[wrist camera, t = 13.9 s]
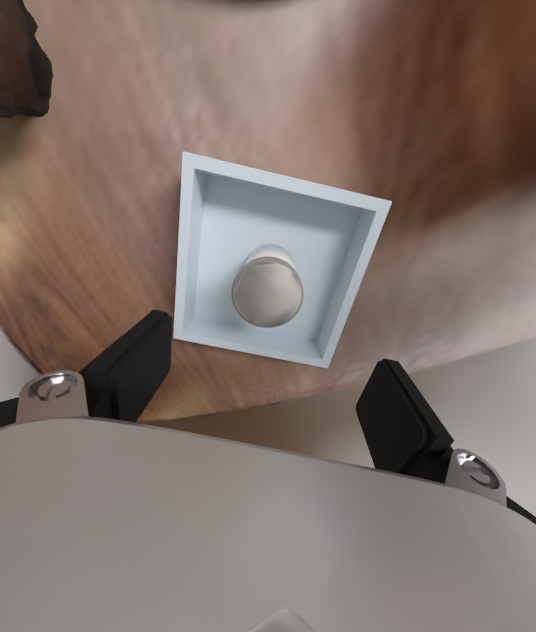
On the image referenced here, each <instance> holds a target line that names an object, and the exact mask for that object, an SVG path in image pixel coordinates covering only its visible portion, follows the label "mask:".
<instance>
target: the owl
mask: <svg viewBox="0 0 536 632" xmlns="http://www.w3.org/2000/svg"><path fill="white" fill-rule="evenodd" d="M37 27H38V26H37V24H36V22H35V20H34V18H33V17H32V16H31V14H30V13H29V12H28V11H27V9H26V8H25V6H24V3H23V1H22V0H0V117H5V118H12V117H14V116H15V115H16V114H17V113H20V114H22V115H25V116H36V117H41V116H43V115H45V114H46V113H47V112H48V109H49V98H50V96H51V82H52V78H53V73H52V65H51V62H50V60H49V59H48V57H47V55H46V54H45V53H44V51H43V50H42V49H41V47H40V46H39V44H38V42H37V40H36V39H35V36H34V34H35V32H36V30H37Z"/></svg>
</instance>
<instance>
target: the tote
mask: <svg viewBox="0 0 536 632" xmlns="http://www.w3.org/2000/svg"><path fill="white" fill-rule="evenodd" d="M391 203H392V201H389V200H384V199H380V198H376V197H372V196H368V195H364V194H359V193H355V192H351V191H347V190H343V189H338V188H334V187H330V186H326V185H322V184H317V183H313V182H309V181H305V180H301V179H296V178H292V177H288V176H284V175H280V174H275V173H271V172H267V171H263V170H259V169H254V168H250V167H246V166H242V165H238V164H234V163H229V162H225V161H221V160H217V159H213V158H208V157H204V156H200V155H196V154H192V153H187V152H183V159H182V178H181V198H180V218H179V237H178V257H177V276H176V296H175V315H174V335H173V338H174V339H179V340H184V341H189V342H194V343H199V344H205V345H210V346H215V347H220V348H225V349H230V350H236V351H241V352H246V353H251V354H256V355H261V356H266V357H272V358H277V359H282V360H287V361H292V362H297V363H303V364H308V365H313V366H318V367H323V368H328V367H329V364H330V362H331V359H332V356H333V354H334V351H335V349H336V346H337V343H338V341H339V338H340V336H341V333H342V330H343V328H344V325H345V323H346V320H347V317H348V315H349V312H350V310H351V307H352V304H353V302H354V299H355V297H356V294H357V292H358V289H359V286H360V284H361V281H362V279H363V276H364V273H365V271H366V268H367V266H368V263H369V260H370V258H371V255H372V253H373V250H374V247H375V245H376V242H377V240H378V237H379V234H380V232H381V229H382V227H383V224H384V222H385V219H386V216H387V214H388V211H389V209H390V206H391ZM265 244H276V245H279V246H281V247H283V248H285V249H286V250H287V251H288V252H289V253H290V255H291V256H292V258H293V261H294V264H295V268H296V272H297V273H298V275H299V277H300V280H301V283H302V286H303V294H304V295H303V302H302V305H301V308H300V310H299V311H298V313H297V314H296V316H295V317H294V318H293V319H291V320H290V321H289V322H287V323H285V324H283V325H281V326H278V327H273V328H263V327H258V326H255V325H252V324H250V323H248V322H247V321H245V320H244V319H243V318H242V317H241V316H240V315H239V314H238V312H237V311H236V309H235V307H234V305H233V302H232V297H231V290H232V284H233V282H234V279H235V277H236V276H237V274H238V272H239V271H240V269H241V268H242V267H243V266H244V265H245V263H246V261H247V259H248V257H249V256H250V254H251V253H252V252H253V251H254V250H255V249H256V248H257V247H259V246H261V245H265Z"/></svg>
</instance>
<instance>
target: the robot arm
mask: <svg viewBox="0 0 536 632" xmlns="http://www.w3.org/2000/svg"><path fill="white" fill-rule="evenodd" d="M171 338H172V317H170V316H169V315H168V313H167V312H162V311H157V310H153V311H151V312H150V313H149V314H148V315H147V316H145V317H144V318H143V319H142V320H141V321H140V322H138V323H137V324H136V325H135V326H134V327H132V328H131V329H130V330H129V331H128V332H127V333H125V334H124V335H123V336H121V337H120V338H119V339H117V340H116V341H115V342H114V343H113V344H112V345H110V346H109V347H108V348H107V349H106V350H104V351H103V352H102V353H101V354H100V355H98V356H97V357H96V358H95V359H94V360H93V361H91V362H90V363H89V364H88V365H87V366H85V367H84V368H83V369H82V370H81V371H79V372H74V371H69V370H60V371H53V372H49V373H45V374H43V375H40V376H38V377H36V378H34V379H33V380H31V381H29V382H28V383H27V384H26V385H25V386H24V387H23V388H22V389H21V392H20V394H19V397H18V398H14V399H10V400H7V401H3V402H0V632H536V517H535V516H533V515H532V514H531V513H529V512H528V511H527V510H525V509H524V508H522V507H521V506H520V505H518V504H517V503H516V502H514V501H513V500H511V499H510V498H509V497H507V496H506V487H505V483H504V481H503V480H502V478H501V476H500V475H499V474H498V473H497V471H496V470H495V469H494V468H493V467H492V466H491V465H490V464H488V462H486V461H485V460H483V459H482V458H481V457H479V456H478V455H476V454H474V453H472V452H470V451H467V450H464V449H456V450H453V449H452V447H451V446H450V445H451V443H453V441H454V440H453V438H452V437H451V435H450V434H449V433H448V431H447V430H446V428H445V427H444V426H443V424H442V423H441V421H440V420H439V419H438V417H437V416H436V414H435V413H434V411H433V410H432V409H431V407H430V406H429V404H428V403H427V401H426V400H425V399H424V397H423V396H422V394H421V393H420V392H419V390H418V389H417V387H416V386H415V384H414V383H413V381H412V380H411V379H410V377H409V376H408V374H407V373H406V371H405V370H404V369H403V367H402V366H401V364H400V363H399V362H398V361H394V360H389V359H383V360H382V361H379V362H378V363H377V365H376V367H375V369H374V371H373V373H372V375H371V376H370V378H369V380H368V382H367V384H366V386H365V389H364V390H363V392H362V394H361V397H360V398H359V400H358V403H357V405H356V412H357V416H358V418H359V421H360V424H361V427H362V430H363V433H364V436H365V439H366V442H367V445H368V448H369V450H370V454H371V457H372V459H373V463H374V466H375V468H370V467H365V466H360V465H355V464H350V463H345V462H340V461H335V460H330V459H325V458H320V457H315V456H310V455H305V454H300V453H295V452H290V451H284V450H279V449H274V448H269V447H264V446H259V445H254V444H248V443H243V442H238V441H233V440H227V439H221V438H217V437H212V436H206V435H201V434H196V433H190V432H185V431H180V430H174V429H169V428H162V427H157V426H151V425H146V424H140V423H135V422H136V421H137V419H138V418H139V416H140V415H141V413H142V412H143V410H144V409H145V407H146V406H147V404H148V403H149V401H150V400H151V398H152V397H153V395H154V394H155V392H156V391H157V389H158V388H159V386H160V385H161V383H162V382H163V380H164V379H165V377H166V376H167V374H168V372H169V370H170V364H171Z"/></svg>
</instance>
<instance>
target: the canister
mask: <svg viewBox="0 0 536 632" xmlns="http://www.w3.org/2000/svg"><path fill="white" fill-rule="evenodd" d="M303 295H304V294H303V286H302V283H301V280H300V277H299V275H298V273H297V272H296V268H295V264H294V261H293V258H292V256H291V255H290V253H289V252H288V251H287V250H286V249H285V248H283V247H281V246H279V245H276V244H265V245H261V246H259V247H257V248H256V249H255V250H254V251H253V252H252V253H251V254H250V256H249V257H248V259H247V261H246V263H245V265H244V266H243V267H242V268H241V269H240V271H239V272H238V274H237V276H236V277H235V279H234V282H233V284H232V290H231V297H232V302H233V305H234V307H235V309H236V311H237V312H238V314H239V315H240V316H241V317H242V318H243V319H244V320H245V321H247V322H248V323H250V324H252V325H255V326H258V327H263V328H273V327H278V326H281V325H283V324H285V323H287V322H289V321H290V320H291V319H293V318H294V317H295V316H296V314H297V313H298V311H299V310H300V308H301V305H302V302H303Z"/></svg>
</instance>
